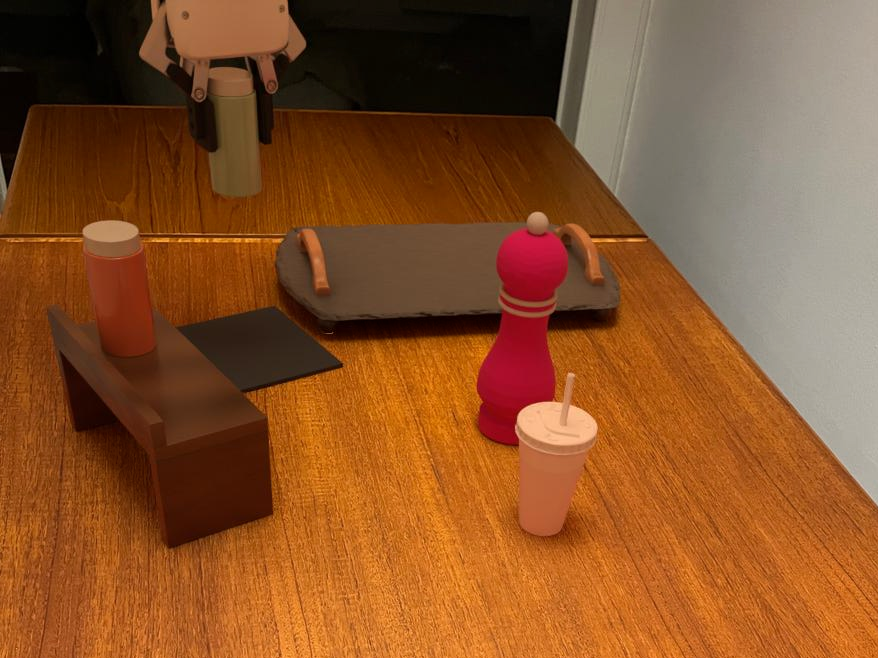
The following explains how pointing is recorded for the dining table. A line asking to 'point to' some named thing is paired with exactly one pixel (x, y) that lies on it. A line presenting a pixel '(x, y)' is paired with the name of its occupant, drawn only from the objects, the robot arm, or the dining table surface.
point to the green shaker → (234, 133)
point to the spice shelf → (173, 424)
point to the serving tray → (425, 271)
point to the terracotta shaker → (119, 288)
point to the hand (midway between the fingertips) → (233, 141)
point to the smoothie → (551, 460)
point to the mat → (259, 348)
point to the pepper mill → (522, 329)
